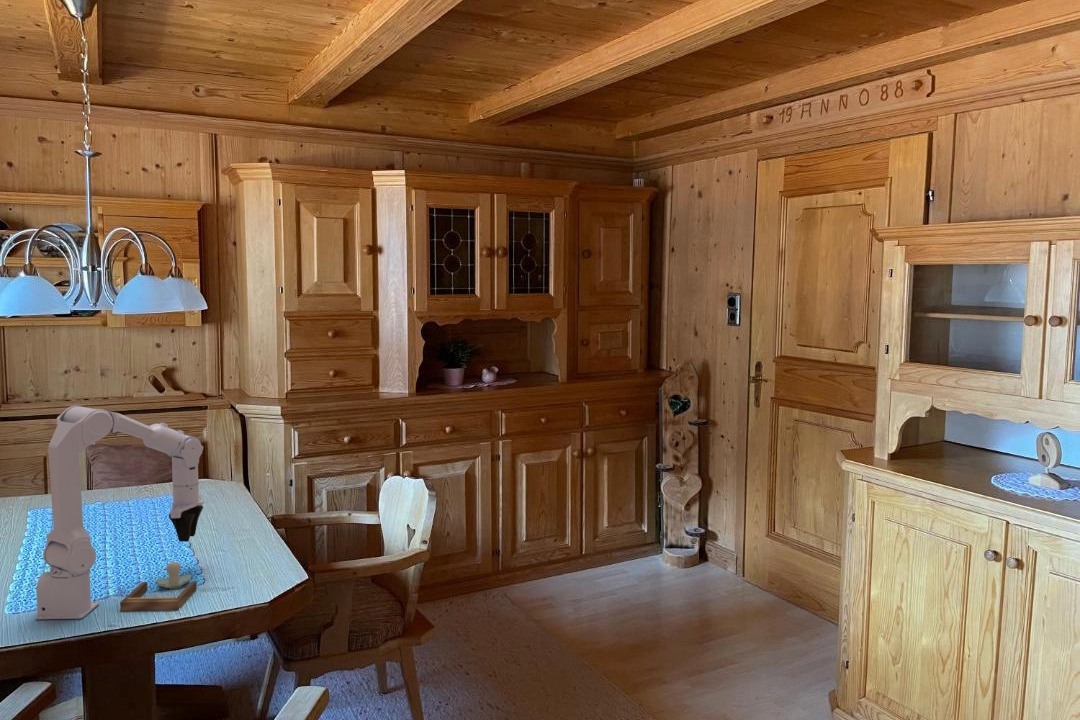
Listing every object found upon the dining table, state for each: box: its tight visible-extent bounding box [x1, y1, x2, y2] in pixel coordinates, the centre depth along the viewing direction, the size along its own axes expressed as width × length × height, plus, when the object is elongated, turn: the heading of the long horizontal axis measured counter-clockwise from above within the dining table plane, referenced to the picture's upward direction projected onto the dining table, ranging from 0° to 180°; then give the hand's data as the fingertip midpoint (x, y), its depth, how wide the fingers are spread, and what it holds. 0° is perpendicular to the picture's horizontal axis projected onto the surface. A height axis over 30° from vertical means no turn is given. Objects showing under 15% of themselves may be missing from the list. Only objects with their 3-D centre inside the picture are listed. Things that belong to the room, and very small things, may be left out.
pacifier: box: [155, 561, 192, 590], centre depth 184 cm, size 7×6×6 cm
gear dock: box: [119, 580, 198, 612], centre depth 176 cm, size 12×12×2 cm
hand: (187, 538), depth 192 cm, fingers open, 3 cm apart
